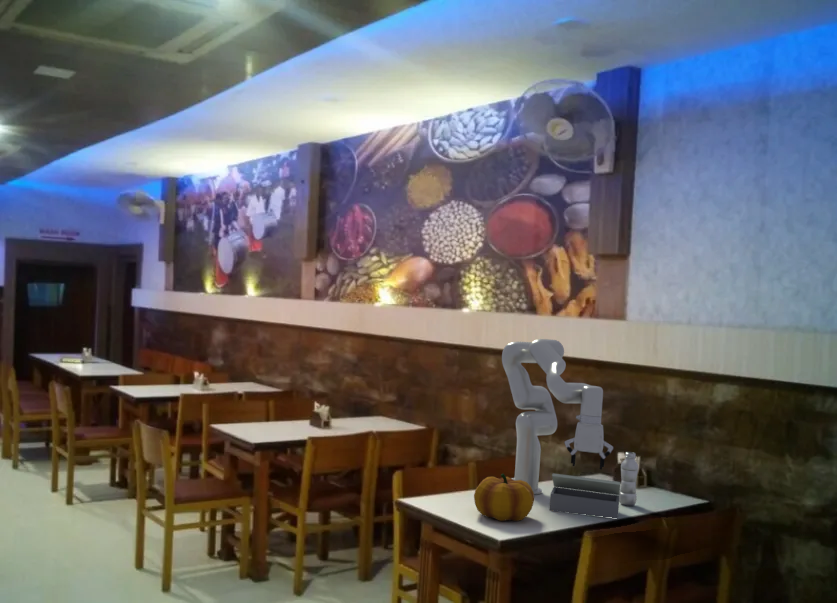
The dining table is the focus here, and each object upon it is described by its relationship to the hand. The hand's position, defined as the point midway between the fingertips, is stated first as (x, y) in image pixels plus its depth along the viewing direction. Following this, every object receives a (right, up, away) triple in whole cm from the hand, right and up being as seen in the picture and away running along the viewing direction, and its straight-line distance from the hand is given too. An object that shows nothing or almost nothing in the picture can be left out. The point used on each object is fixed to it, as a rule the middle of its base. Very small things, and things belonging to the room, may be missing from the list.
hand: (587, 467), depth 281 cm
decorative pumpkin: (-32, -14, -14) cm, 38 cm away
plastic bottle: (+19, -18, +16) cm, 31 cm away
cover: (0, -7, +3) cm, 8 cm away
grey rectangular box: (-1, -16, +2) cm, 17 cm away
